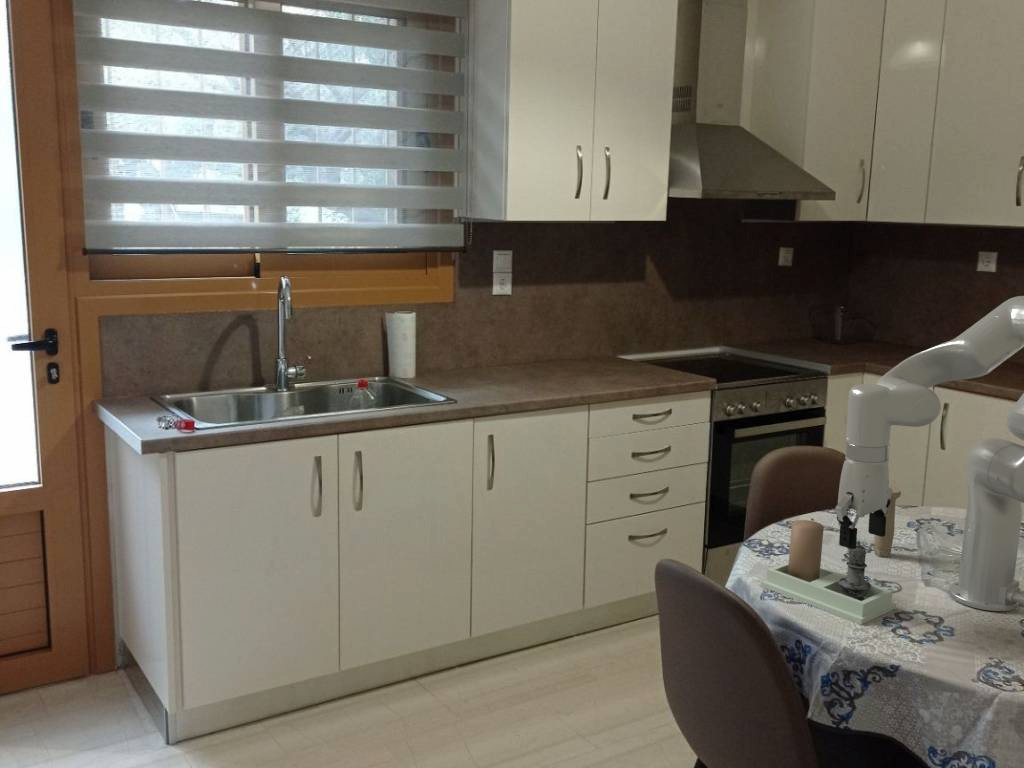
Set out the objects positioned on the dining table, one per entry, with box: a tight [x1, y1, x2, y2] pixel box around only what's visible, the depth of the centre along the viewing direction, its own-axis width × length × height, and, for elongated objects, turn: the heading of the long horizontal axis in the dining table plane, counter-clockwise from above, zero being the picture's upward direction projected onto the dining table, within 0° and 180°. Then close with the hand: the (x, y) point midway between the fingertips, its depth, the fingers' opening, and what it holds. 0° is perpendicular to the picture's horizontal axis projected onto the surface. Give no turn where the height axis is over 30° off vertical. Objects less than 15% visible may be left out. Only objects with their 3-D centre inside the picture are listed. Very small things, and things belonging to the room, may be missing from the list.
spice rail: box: [760, 519, 898, 626], centre depth 191 cm, size 22×12×13 cm, turn 39°
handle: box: [873, 483, 902, 558], centre depth 214 cm, size 5×6×15 cm
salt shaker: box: [839, 540, 872, 601], centre depth 187 cm, size 6×6×12 cm
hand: (862, 540), depth 185 cm, fingers open, 9 cm apart
